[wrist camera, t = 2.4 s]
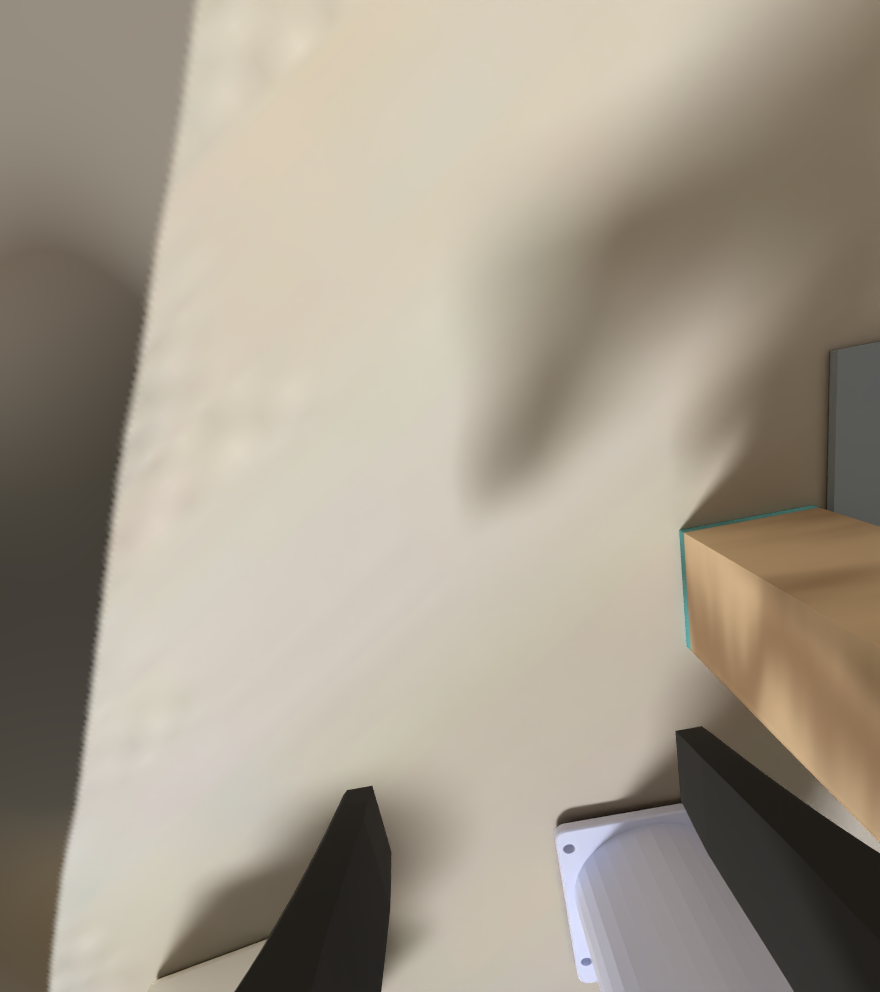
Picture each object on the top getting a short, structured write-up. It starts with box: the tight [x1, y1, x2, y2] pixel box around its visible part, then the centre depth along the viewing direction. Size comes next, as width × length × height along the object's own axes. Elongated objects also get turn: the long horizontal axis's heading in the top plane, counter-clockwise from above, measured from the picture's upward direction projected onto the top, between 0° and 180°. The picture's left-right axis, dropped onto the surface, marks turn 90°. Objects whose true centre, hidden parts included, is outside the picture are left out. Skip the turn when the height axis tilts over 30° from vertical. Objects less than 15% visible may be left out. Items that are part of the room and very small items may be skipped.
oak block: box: [679, 505, 880, 843], centre depth 13 cm, size 5×5×9 cm
